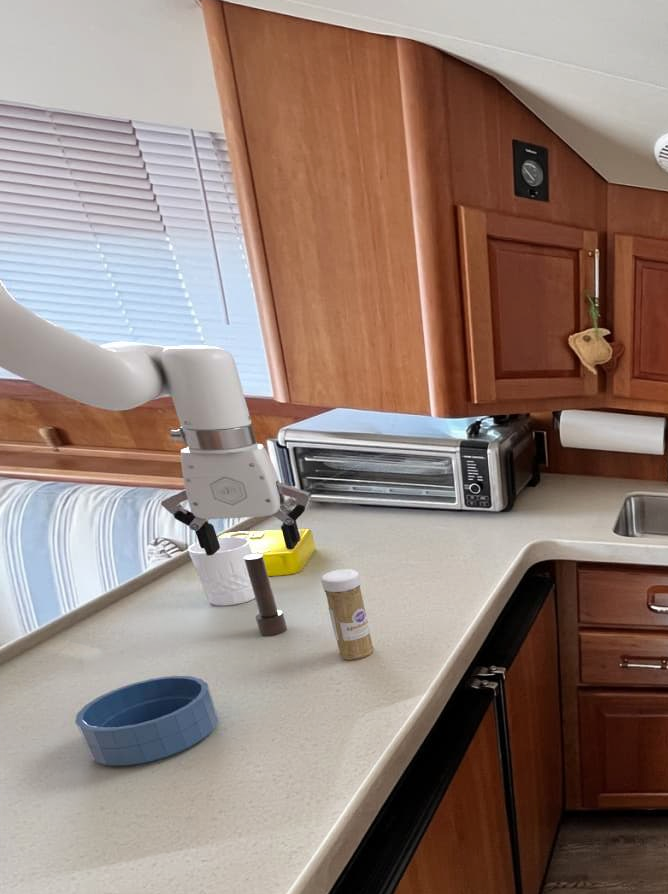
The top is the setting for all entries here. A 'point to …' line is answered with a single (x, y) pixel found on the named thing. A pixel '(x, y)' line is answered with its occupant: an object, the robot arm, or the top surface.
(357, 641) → the sprinkles bottle
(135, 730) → the bowl
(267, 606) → the muddler
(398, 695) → the top surface
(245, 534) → the yellow box
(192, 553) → the white cup
